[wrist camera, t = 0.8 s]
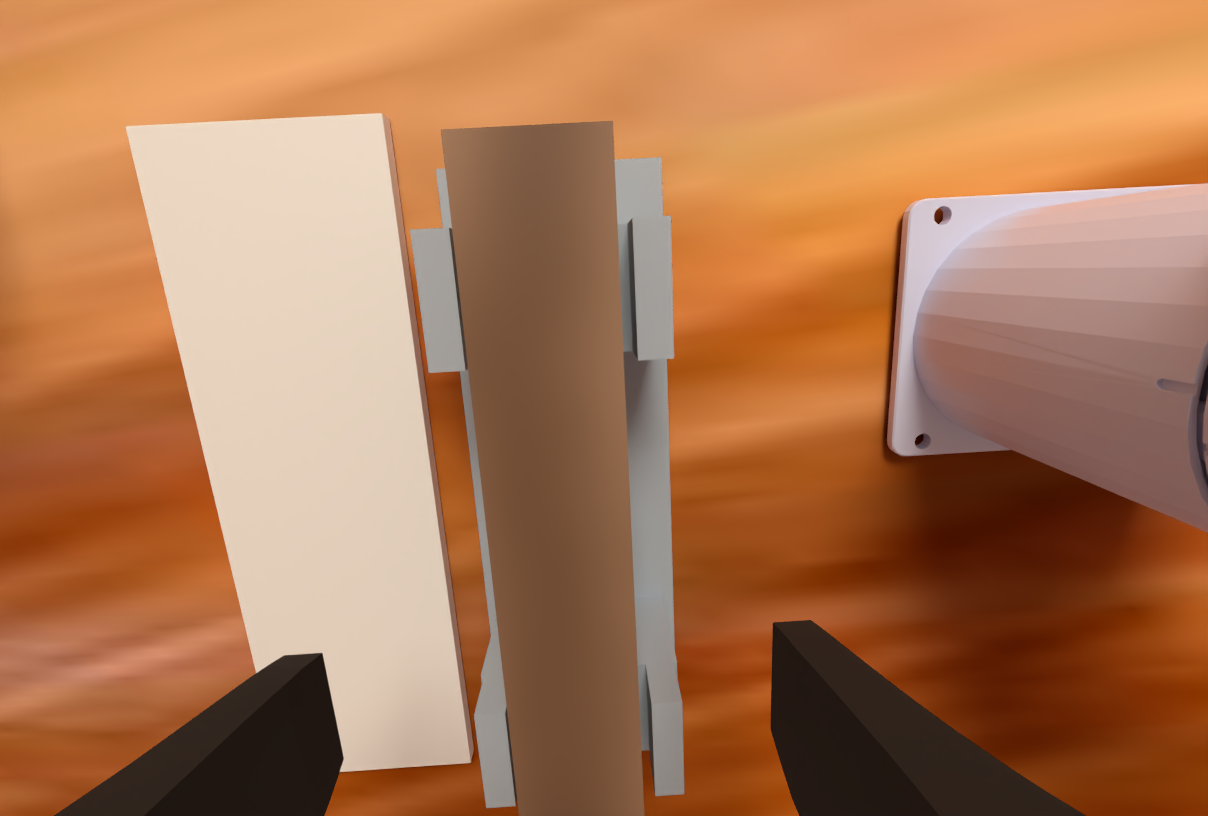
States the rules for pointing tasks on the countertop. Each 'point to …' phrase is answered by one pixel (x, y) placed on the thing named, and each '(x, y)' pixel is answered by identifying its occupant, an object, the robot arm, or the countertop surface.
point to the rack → (648, 461)
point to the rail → (552, 452)
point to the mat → (315, 412)
